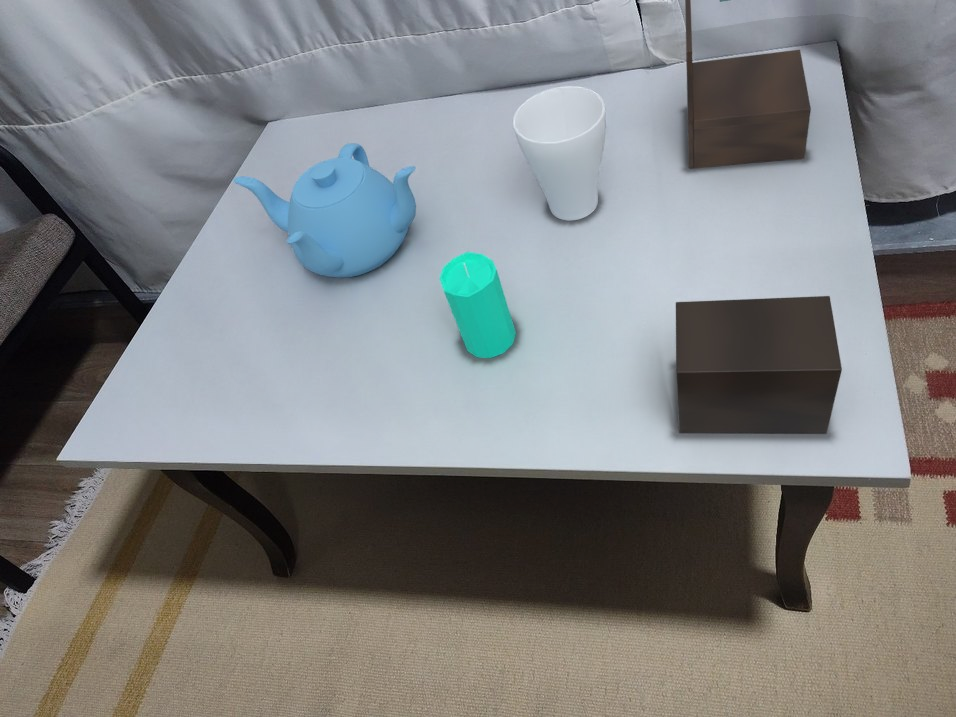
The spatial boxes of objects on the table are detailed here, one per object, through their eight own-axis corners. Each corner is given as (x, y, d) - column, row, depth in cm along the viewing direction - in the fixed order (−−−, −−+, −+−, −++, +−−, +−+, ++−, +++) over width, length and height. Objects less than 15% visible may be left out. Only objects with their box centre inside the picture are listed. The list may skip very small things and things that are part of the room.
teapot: (331, 316, 93) (289, 245, 84) (272, 244, 104) (229, 174, 95) (444, 241, 97) (415, 165, 87) (375, 179, 108) (343, 106, 98)
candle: (464, 321, 87) (435, 247, 78) (514, 313, 86) (492, 237, 77) (464, 362, 84) (434, 289, 75) (517, 354, 83) (493, 279, 74)
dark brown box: (816, 363, 73) (829, 295, 66) (826, 434, 69) (842, 369, 61) (678, 366, 77) (675, 301, 69) (679, 433, 72) (676, 372, 65)
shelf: (794, 98, 98) (808, -24, 85) (804, 158, 91) (820, 35, 78) (687, 110, 101) (685, -6, 89) (688, 168, 94) (686, 52, 82)
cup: (530, 237, 93) (508, 149, 83) (535, 181, 100) (515, 92, 89) (616, 229, 91) (605, 137, 80) (616, 172, 97) (605, 79, 87)
